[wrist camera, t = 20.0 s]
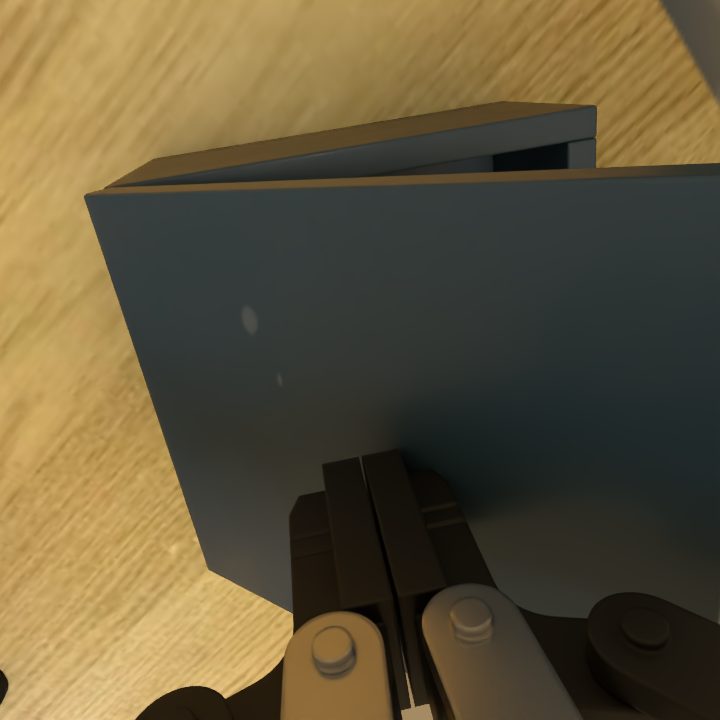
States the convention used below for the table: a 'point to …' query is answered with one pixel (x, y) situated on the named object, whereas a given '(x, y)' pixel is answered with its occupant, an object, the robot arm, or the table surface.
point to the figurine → (3, 687)
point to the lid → (443, 363)
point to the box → (398, 148)
